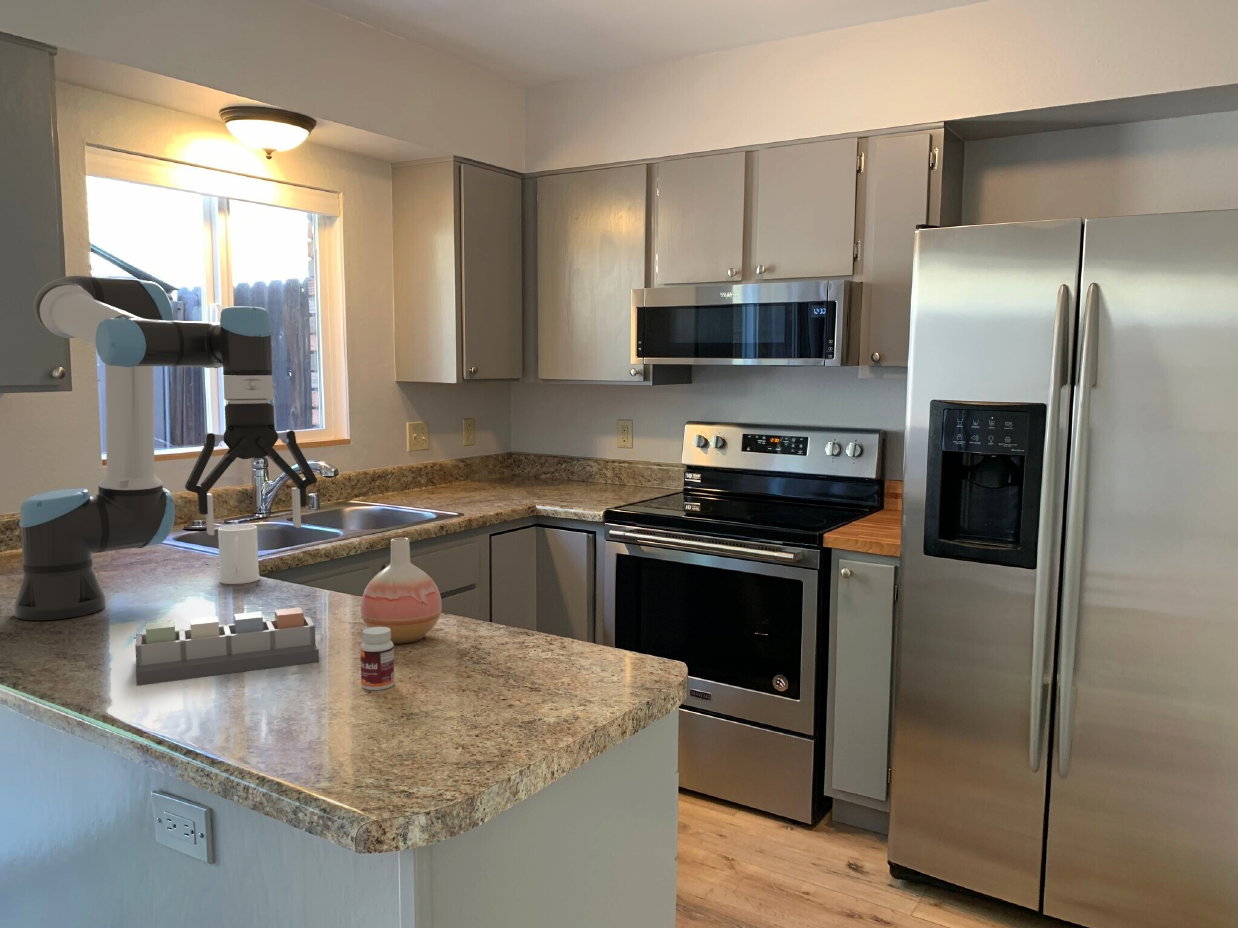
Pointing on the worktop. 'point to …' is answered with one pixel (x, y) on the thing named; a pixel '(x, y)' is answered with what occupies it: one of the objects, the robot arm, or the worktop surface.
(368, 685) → the pill bottle
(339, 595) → the worktop surface
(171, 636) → the key sage
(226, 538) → the mug
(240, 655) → the grey slotted tray
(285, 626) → the key rust
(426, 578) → the vase
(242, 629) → the key slate
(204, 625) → the key cream
